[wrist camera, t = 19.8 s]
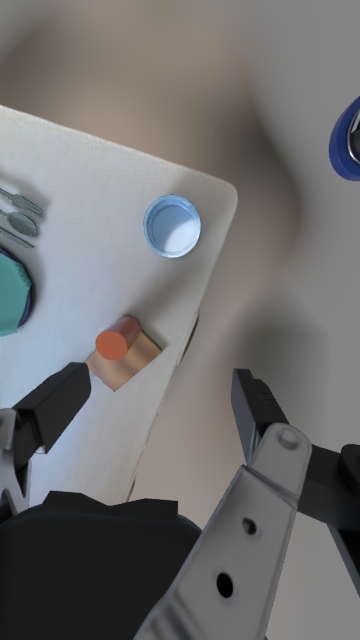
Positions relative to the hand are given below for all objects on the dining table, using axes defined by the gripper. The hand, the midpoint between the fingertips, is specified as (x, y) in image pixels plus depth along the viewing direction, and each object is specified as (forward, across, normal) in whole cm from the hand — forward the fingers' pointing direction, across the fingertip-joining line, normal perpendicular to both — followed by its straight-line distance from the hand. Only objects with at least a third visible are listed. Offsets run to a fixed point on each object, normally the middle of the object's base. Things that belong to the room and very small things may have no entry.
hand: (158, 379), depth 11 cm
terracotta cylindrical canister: (+29, +12, +8) cm, 33 cm away
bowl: (+30, +2, -11) cm, 32 cm away
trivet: (+30, +14, +15) cm, 36 cm away
